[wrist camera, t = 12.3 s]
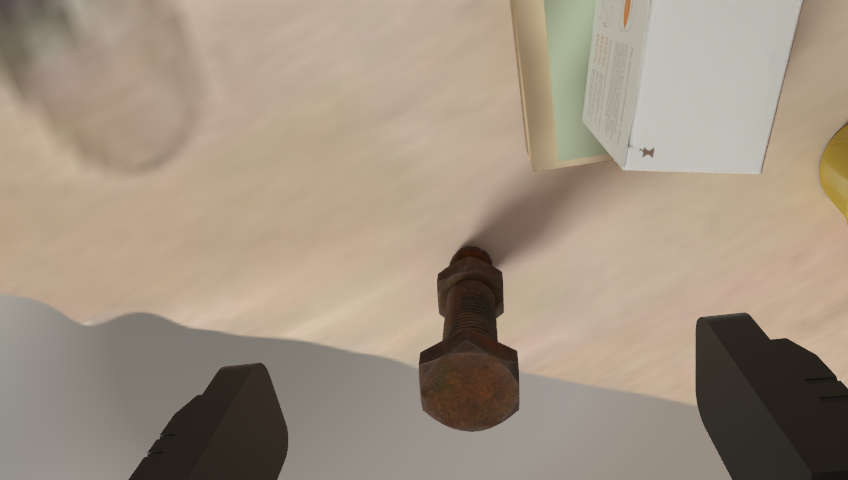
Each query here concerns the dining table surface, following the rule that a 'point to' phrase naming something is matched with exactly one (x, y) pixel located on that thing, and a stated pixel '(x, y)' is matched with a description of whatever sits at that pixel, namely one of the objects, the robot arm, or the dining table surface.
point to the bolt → (470, 349)
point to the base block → (555, 80)
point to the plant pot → (836, 170)
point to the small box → (688, 81)
